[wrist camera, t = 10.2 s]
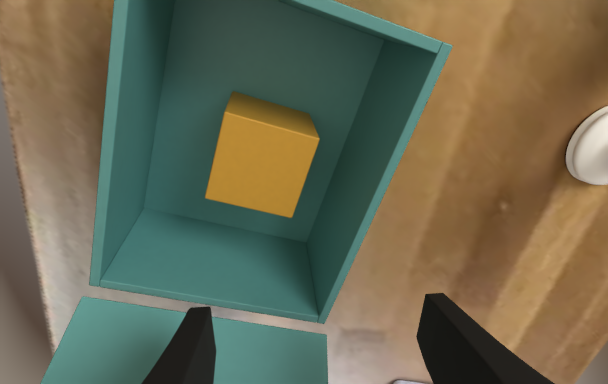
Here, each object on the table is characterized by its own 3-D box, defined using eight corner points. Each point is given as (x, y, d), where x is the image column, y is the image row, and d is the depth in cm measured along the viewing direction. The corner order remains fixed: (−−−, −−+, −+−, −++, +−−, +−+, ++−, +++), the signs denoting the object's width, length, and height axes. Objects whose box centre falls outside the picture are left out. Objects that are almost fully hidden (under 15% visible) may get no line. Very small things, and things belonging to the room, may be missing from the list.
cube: (287, 181, 20) (292, 219, 17) (215, 163, 19) (204, 199, 16) (310, 113, 19) (320, 138, 15) (232, 90, 18) (224, 111, 14)
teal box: (309, 245, 23) (324, 324, 17) (137, 208, 20) (88, 285, 15) (392, 33, 18) (453, 45, 12) (174, -48, 15) (120, -80, 10)
